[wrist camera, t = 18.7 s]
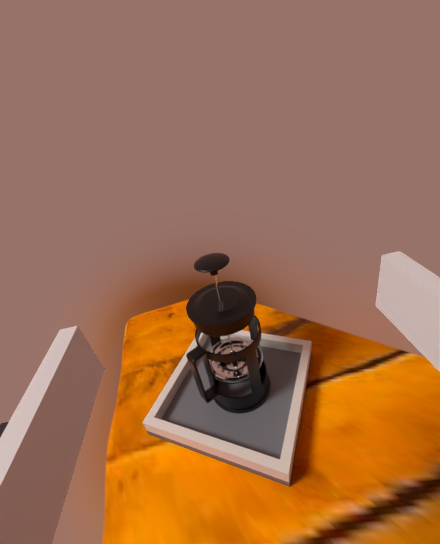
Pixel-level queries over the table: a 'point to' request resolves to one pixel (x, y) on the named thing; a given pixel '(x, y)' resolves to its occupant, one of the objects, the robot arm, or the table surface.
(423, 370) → the table surface
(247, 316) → the french press
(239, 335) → the serving tray
